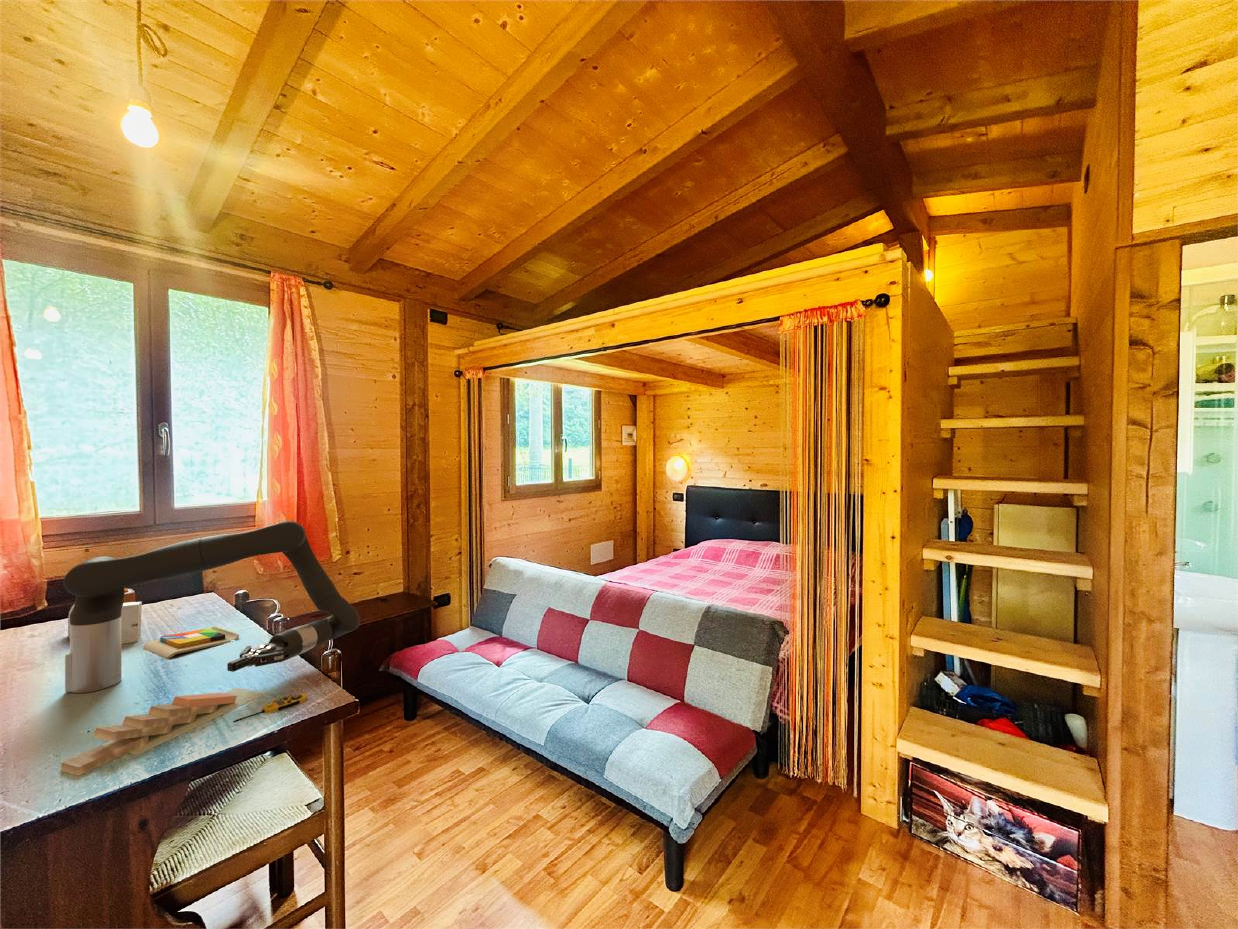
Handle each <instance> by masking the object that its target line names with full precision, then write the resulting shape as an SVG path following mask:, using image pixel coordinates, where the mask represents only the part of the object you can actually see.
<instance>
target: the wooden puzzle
mask: <svg viewBox="0 0 1238 929" xmlns="http://www.w3.org/2000/svg"><path fill="white" fill-rule="evenodd" d="M239 638H240V634H239V633H237V632H233V631H231V630H228V629H225V628H222V627H218V626H215V625H213V626H211V627H210V628H208V627H206V628H201V629H194V630H191V631H184V632H178V633H173V634H165V635H162V636H160V637H159V639H156V640H155V639H154V640H150V641H147V642H145V644H144V645H143V647H142V649H143V650H144V649H145V651H147V650H148V651H147V652H149V651H150V653H151V652H152V654H154V655H156V654H157V655H156V656H158V655H159V656H158V657H161V658H163V657H164V658H163V659H166V658H167V659H166V660H168V658H169V659H171V658H172V657H174V656H175V655H179V654H184V653H187V652H193V651H198V650H202V649H206V648H207V649H208V648H212V647H216V645H217V646H220V645H219V644H221V645H224V644H223V643H225V644H228V643H230V642H229V641H231V640H235V641H238V640H239ZM227 642H228V643H227Z"/></svg>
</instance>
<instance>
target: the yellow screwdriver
mask: <svg viewBox="0 0 1238 929" xmlns="http://www.w3.org/2000/svg"><path fill="white" fill-rule="evenodd" d="M307 700H309V699H308V695H307V694H306V693H303V692H302V693H299V694H294V695H289V696H286V697H285V696H284V697H282V698H280V699H276V700H274V701H272V702H270V703H268V704H266V705H264V706H263V707H262V709H261V711H258V712H255V713H253V714H249V715H246V716H243V717H241V718H237V719H235V720H233V721H232V723H237V722H240V721H243V720H245V719H249V718H251V717H254V716H257V715H260V714H271V713H275V712H280V711H283V710H286V709H290V708H293V707H295V706H298V705H300V704H302V703H304V702H306V701H307Z"/></svg>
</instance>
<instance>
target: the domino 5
mask: <svg viewBox="0 0 1238 929" xmlns="http://www.w3.org/2000/svg"><path fill="white" fill-rule="evenodd" d="M236 698H237V695H232V694H227V693H225V692H213V693H201V694H198V693H197V694H187V695H174V698H173V700H172V703H171V704H174V705H179V706H183V707H198V706H208V705H218V704H228V703H235V701H236Z"/></svg>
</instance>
